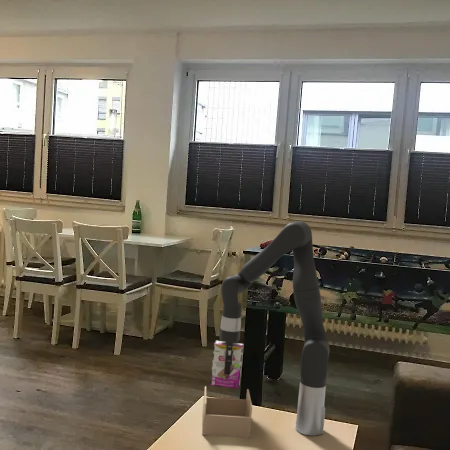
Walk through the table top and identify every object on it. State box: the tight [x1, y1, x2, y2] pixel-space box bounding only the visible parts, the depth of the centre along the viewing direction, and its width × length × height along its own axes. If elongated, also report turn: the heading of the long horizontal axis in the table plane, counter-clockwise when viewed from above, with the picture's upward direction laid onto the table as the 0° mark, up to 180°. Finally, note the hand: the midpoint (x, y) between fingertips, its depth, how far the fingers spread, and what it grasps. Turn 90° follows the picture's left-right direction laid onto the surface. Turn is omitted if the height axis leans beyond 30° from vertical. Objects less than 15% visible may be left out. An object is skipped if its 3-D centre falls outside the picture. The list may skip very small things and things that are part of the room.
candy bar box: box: [209, 340, 245, 390], centre depth 215 cm, size 11×5×16 cm, turn 85°
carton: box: [201, 385, 253, 439], centre depth 200 cm, size 16×16×11 cm
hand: (226, 371), depth 215 cm, fingers closed on candy bar box, 5 cm apart
